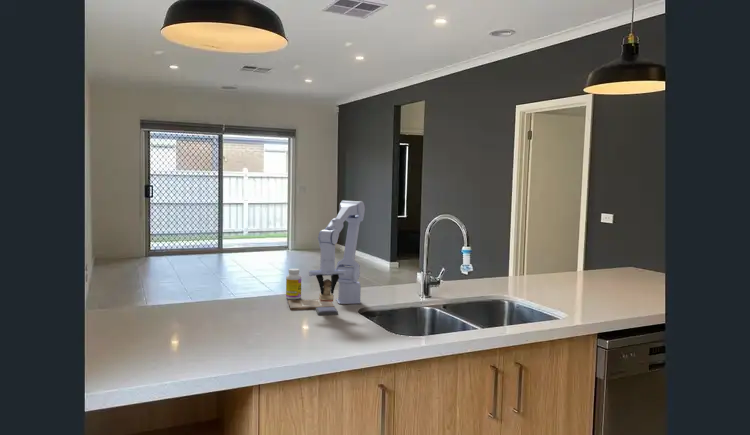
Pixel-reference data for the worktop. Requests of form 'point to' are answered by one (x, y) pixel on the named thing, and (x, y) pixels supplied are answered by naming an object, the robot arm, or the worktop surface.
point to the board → (308, 304)
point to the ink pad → (326, 311)
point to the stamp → (326, 292)
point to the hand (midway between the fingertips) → (327, 293)
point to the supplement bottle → (293, 284)
